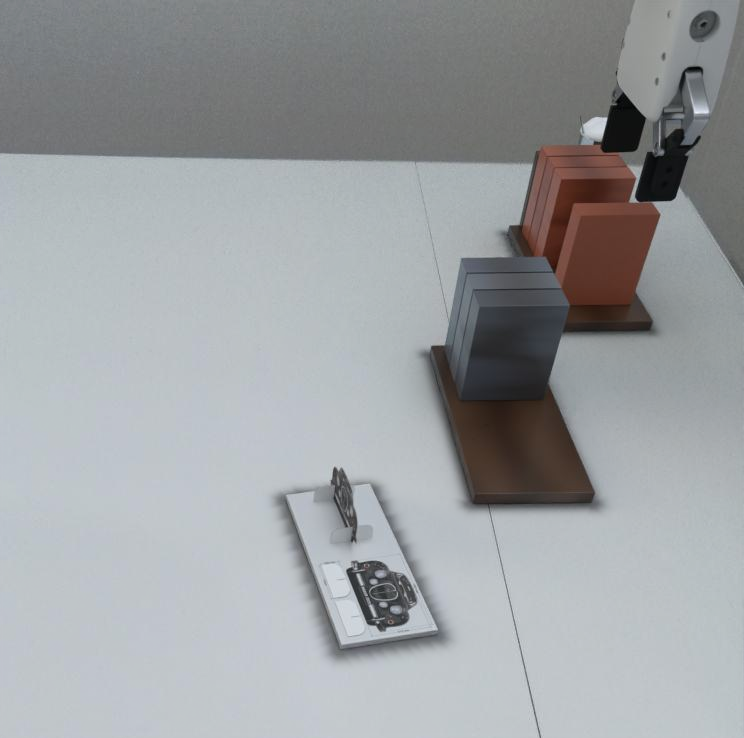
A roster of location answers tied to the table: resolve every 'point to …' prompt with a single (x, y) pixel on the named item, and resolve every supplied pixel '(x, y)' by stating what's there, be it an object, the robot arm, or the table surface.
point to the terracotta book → (605, 251)
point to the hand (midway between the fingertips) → (635, 174)
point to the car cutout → (359, 565)
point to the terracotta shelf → (552, 214)
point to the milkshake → (592, 131)
